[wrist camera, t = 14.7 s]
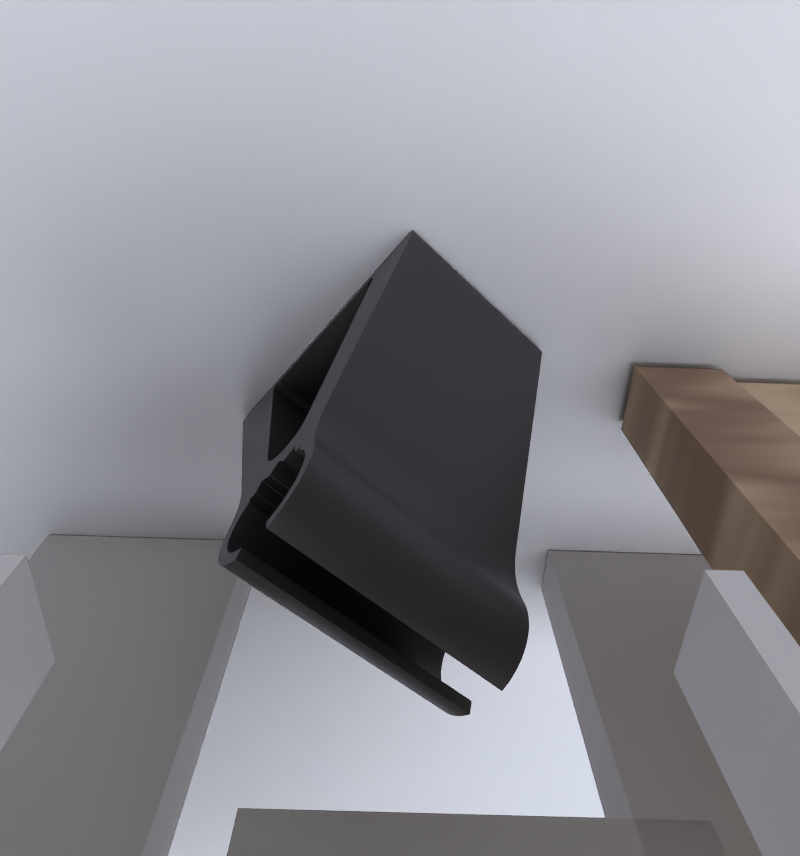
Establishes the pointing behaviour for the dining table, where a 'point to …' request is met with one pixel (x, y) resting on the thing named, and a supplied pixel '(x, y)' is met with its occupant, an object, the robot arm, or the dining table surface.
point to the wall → (340, 830)
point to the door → (727, 471)
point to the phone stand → (397, 479)
